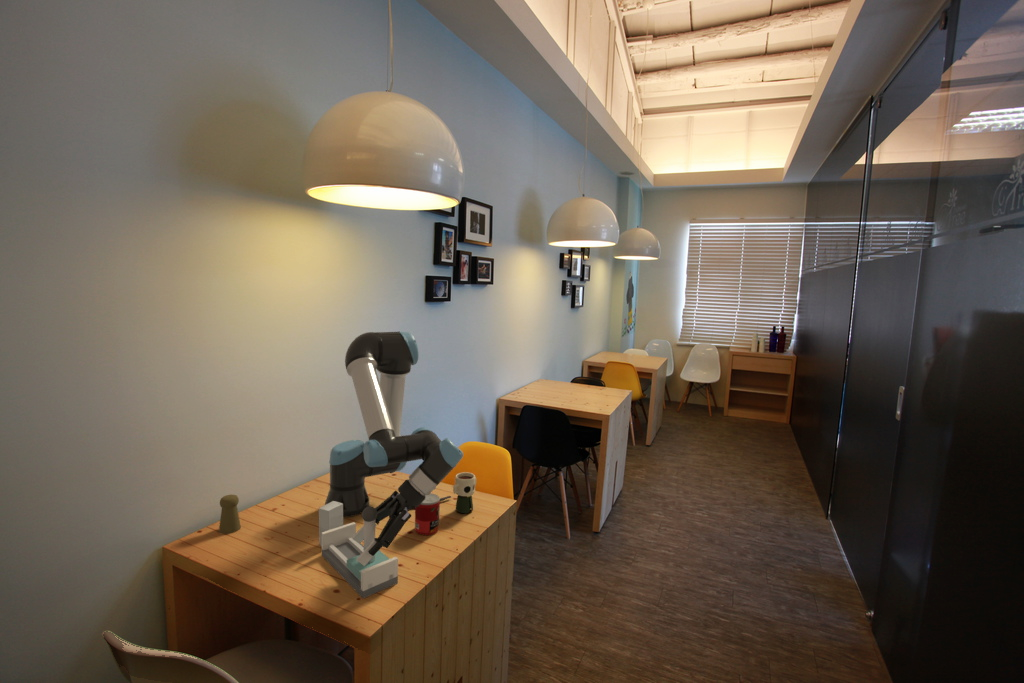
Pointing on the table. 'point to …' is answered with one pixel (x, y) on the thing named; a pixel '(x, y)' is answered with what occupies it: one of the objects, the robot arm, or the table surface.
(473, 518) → the table surface
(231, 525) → the olive pawn figure
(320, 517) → the skincare box
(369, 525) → the carriage
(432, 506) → the canned food
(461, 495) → the character mug
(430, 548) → the table surface
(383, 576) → the rail track
